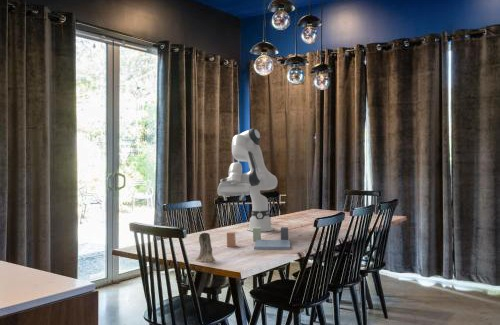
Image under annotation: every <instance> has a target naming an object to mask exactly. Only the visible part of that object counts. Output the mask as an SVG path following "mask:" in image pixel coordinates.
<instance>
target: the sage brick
mask: <svg viewBox="0 0 500 325" xmlns="http://www.w3.org/2000/svg"><path fill="white" fill-rule="evenodd" d="M256 240H262V232H261V227H253V231H252V241H253V242H256Z"/></svg>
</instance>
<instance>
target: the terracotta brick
mask: <svg viewBox="0 0 500 325" xmlns="http://www.w3.org/2000/svg"><path fill="white" fill-rule="evenodd" d="M236 238H237V237H236V231H227V232H226V247H227V248H235V247H236V245H237V243H236Z"/></svg>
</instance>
